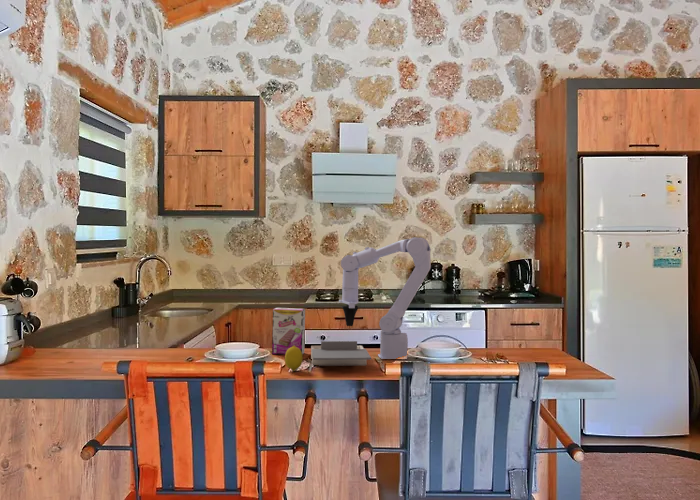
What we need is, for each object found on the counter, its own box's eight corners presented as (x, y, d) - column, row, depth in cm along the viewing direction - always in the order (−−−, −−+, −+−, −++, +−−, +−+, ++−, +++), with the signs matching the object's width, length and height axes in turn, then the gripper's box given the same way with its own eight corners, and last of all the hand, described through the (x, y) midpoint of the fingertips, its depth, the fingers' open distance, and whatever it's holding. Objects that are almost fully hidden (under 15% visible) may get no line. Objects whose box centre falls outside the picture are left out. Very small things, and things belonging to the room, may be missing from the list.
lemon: (299, 373, 174) (300, 347, 174) (282, 372, 175) (282, 346, 175) (304, 369, 179) (304, 344, 179) (287, 368, 180) (288, 343, 180)
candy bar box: (271, 354, 202) (272, 309, 201) (274, 352, 207) (275, 307, 206) (302, 355, 201) (302, 309, 200) (304, 353, 206) (305, 308, 205)
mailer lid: (365, 350, 189) (365, 341, 189) (371, 359, 175) (371, 349, 175) (311, 350, 188) (312, 341, 188) (313, 359, 173) (313, 349, 173)
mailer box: (361, 356, 200) (361, 345, 200) (366, 365, 186) (366, 353, 186) (311, 357, 198) (311, 345, 198) (312, 365, 184) (312, 353, 184)
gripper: (337, 286, 210) (337, 322, 210) (340, 290, 196) (340, 329, 196) (356, 286, 211) (355, 322, 211) (360, 290, 196) (360, 329, 197)
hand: (349, 325), depth 204 cm, fingers closed
